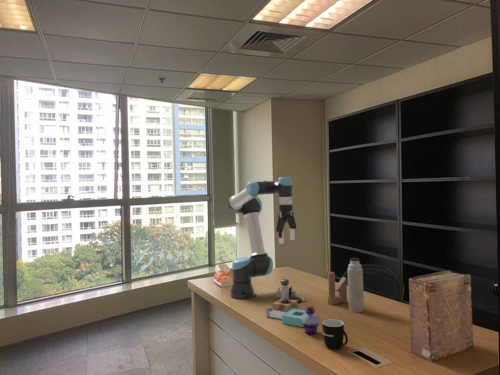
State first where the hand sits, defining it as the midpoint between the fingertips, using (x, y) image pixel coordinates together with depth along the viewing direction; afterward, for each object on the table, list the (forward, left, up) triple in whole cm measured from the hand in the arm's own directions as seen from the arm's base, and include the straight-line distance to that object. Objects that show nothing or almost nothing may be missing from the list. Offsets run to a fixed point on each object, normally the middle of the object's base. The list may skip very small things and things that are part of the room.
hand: (287, 241), depth 213 cm
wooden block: (+22, +18, -37) cm, 47 cm away
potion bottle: (+26, -29, -37) cm, 54 cm away
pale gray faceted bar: (+4, -19, -36) cm, 41 cm away
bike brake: (-2, +10, -37) cm, 39 cm away
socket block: (+15, -19, -37) cm, 44 cm away
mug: (+42, -39, -37) cm, 68 cm away
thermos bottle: (+35, +11, -37) cm, 52 cm away
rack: (+2, -8, -37) cm, 38 cm away
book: (+80, -21, -37) cm, 91 cm away
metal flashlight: (+2, -8, -37) cm, 38 cm away
